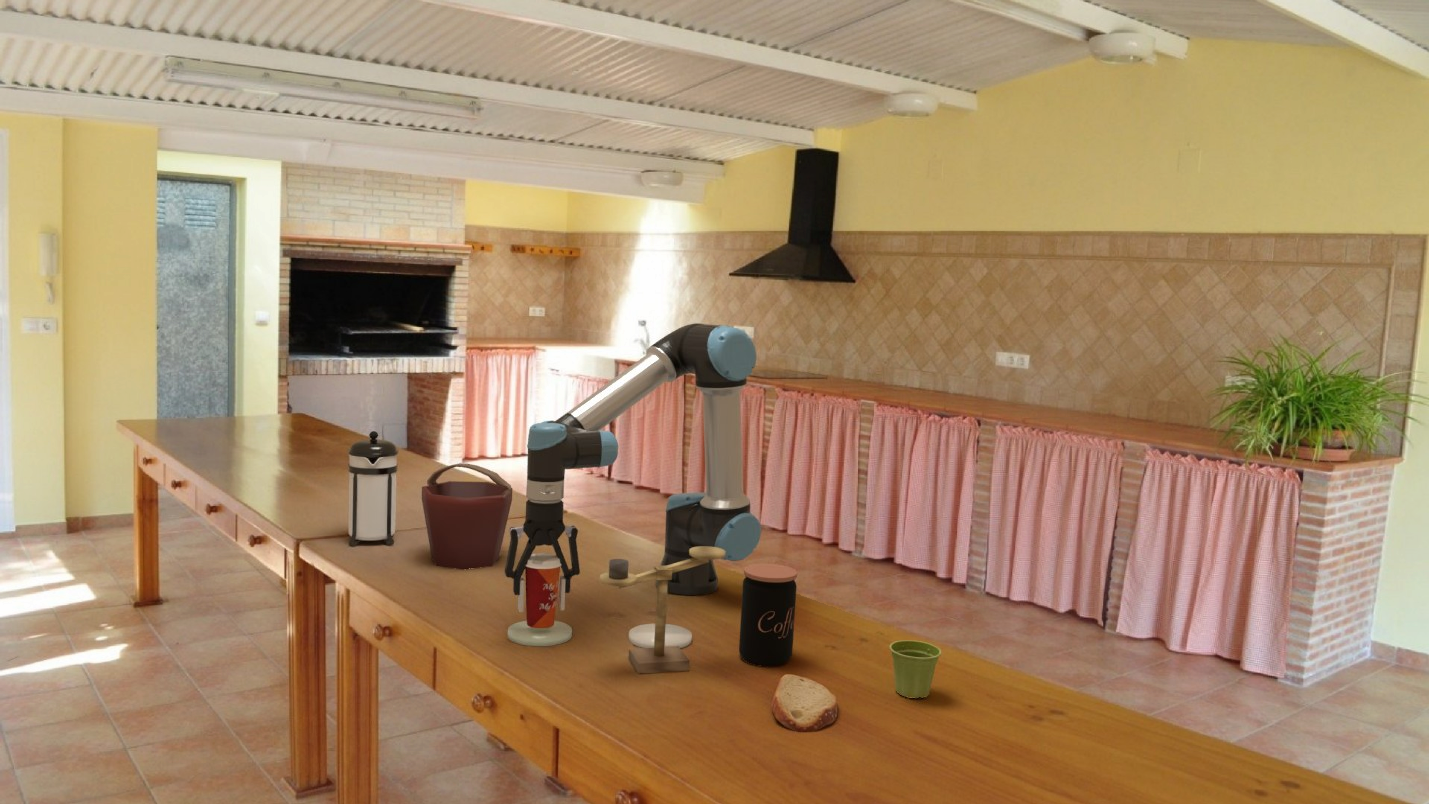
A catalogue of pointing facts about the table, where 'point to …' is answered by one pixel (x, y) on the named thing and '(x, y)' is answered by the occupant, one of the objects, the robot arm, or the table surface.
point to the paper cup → (541, 589)
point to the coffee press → (372, 490)
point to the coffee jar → (767, 614)
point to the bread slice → (803, 704)
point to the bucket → (466, 519)
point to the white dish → (673, 636)
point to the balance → (658, 608)
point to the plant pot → (914, 666)
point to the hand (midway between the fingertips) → (541, 608)
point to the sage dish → (539, 634)
